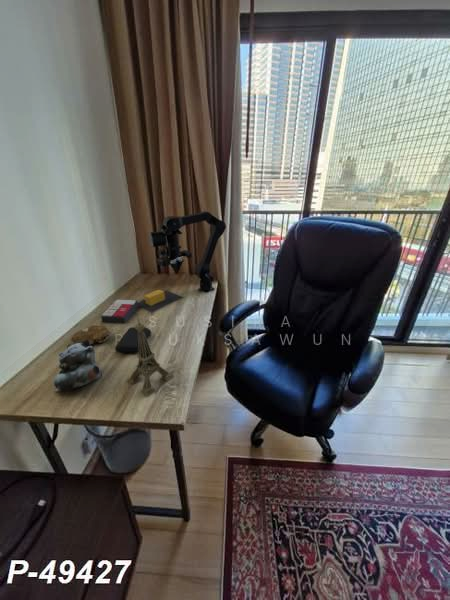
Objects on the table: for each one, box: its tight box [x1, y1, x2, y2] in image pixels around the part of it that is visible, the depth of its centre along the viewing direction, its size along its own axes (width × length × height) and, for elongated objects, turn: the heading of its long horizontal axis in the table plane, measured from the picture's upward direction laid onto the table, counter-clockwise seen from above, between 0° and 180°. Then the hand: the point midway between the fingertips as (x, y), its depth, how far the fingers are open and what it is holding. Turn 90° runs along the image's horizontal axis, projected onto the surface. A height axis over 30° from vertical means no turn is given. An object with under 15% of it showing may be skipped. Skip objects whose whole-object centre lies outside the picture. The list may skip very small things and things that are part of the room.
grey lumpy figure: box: [53, 340, 103, 393], centre depth 80 cm, size 15×12×14 cm
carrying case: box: [114, 326, 152, 354], centre depth 99 cm, size 11×3×15 cm
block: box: [143, 289, 165, 306], centre depth 129 cm, size 4×4×9 cm
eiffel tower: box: [127, 315, 175, 397], centre depth 76 cm, size 11×11×25 cm
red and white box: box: [100, 299, 140, 324], centre depth 119 cm, size 11×4×15 cm
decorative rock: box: [70, 324, 111, 345], centre depth 102 cm, size 11×4×15 cm
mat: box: [138, 290, 184, 313], centre depth 130 cm, size 20×14×1 cm
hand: (176, 273), depth 129 cm, fingers closed
